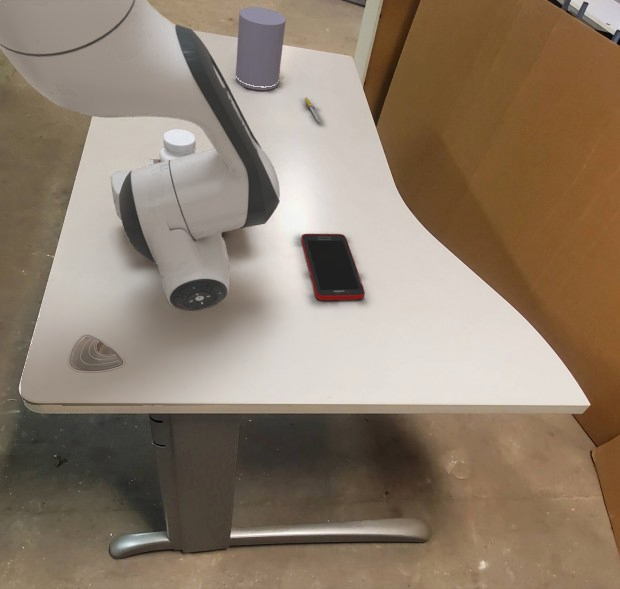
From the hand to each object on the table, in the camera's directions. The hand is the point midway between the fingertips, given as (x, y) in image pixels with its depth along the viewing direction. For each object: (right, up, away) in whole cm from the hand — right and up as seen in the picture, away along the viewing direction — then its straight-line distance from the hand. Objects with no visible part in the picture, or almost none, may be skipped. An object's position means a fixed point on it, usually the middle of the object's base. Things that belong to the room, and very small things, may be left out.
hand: (179, 163), depth 82 cm
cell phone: (+24, -17, +2) cm, 29 cm away
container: (+8, +31, +45) cm, 55 cm away
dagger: (+21, +21, +38) cm, 48 cm away
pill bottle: (-1, -5, +4) cm, 6 cm away
